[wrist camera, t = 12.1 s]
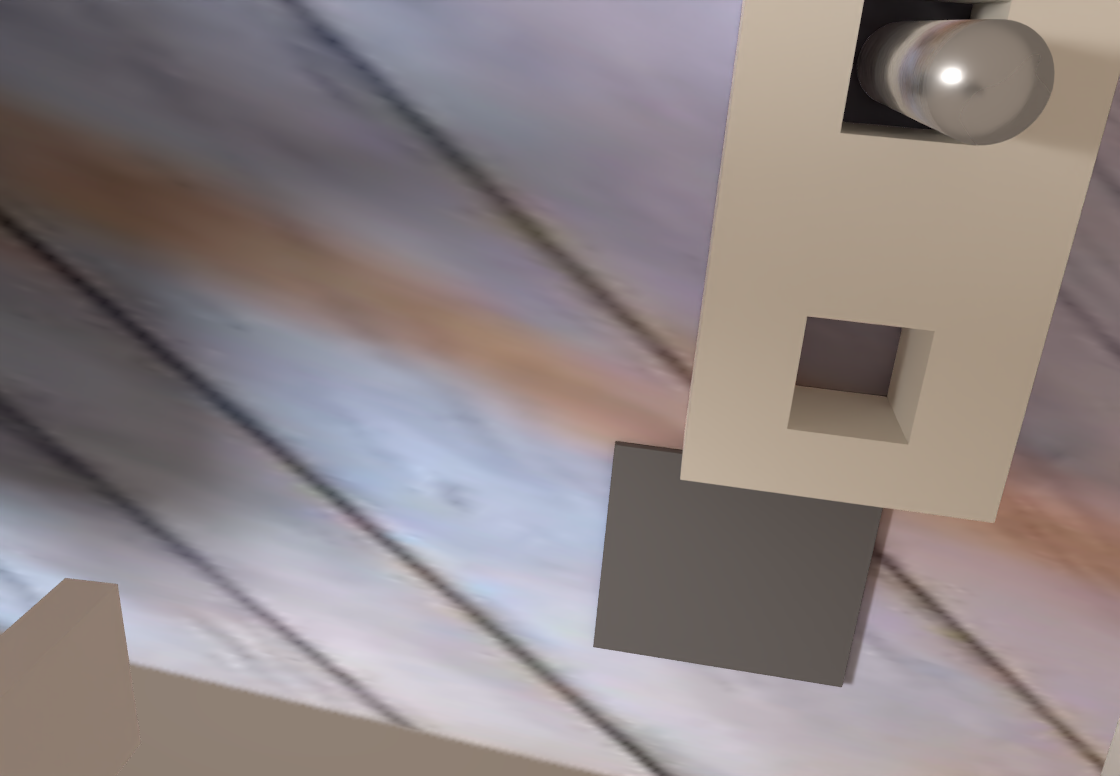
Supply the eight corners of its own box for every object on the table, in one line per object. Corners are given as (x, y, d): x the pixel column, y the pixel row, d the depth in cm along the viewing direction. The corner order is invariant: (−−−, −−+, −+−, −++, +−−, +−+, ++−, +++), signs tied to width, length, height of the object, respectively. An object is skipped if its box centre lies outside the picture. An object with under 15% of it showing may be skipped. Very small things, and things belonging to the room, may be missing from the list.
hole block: (684, 429, 42) (680, 479, 37) (755, -95, 34) (761, -115, 30) (963, 466, 41) (994, 523, 36) (1102, -73, 33) (1165, -89, 28)
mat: (594, 641, 47) (593, 646, 46) (615, 441, 43) (614, 444, 42) (840, 681, 45) (841, 687, 45) (887, 478, 41) (888, 481, 41)
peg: (849, 101, 36) (914, 139, 24) (865, 17, 35) (941, 14, 23) (930, 108, 36) (1036, 151, 24) (948, 24, 35) (1069, 24, 23)
